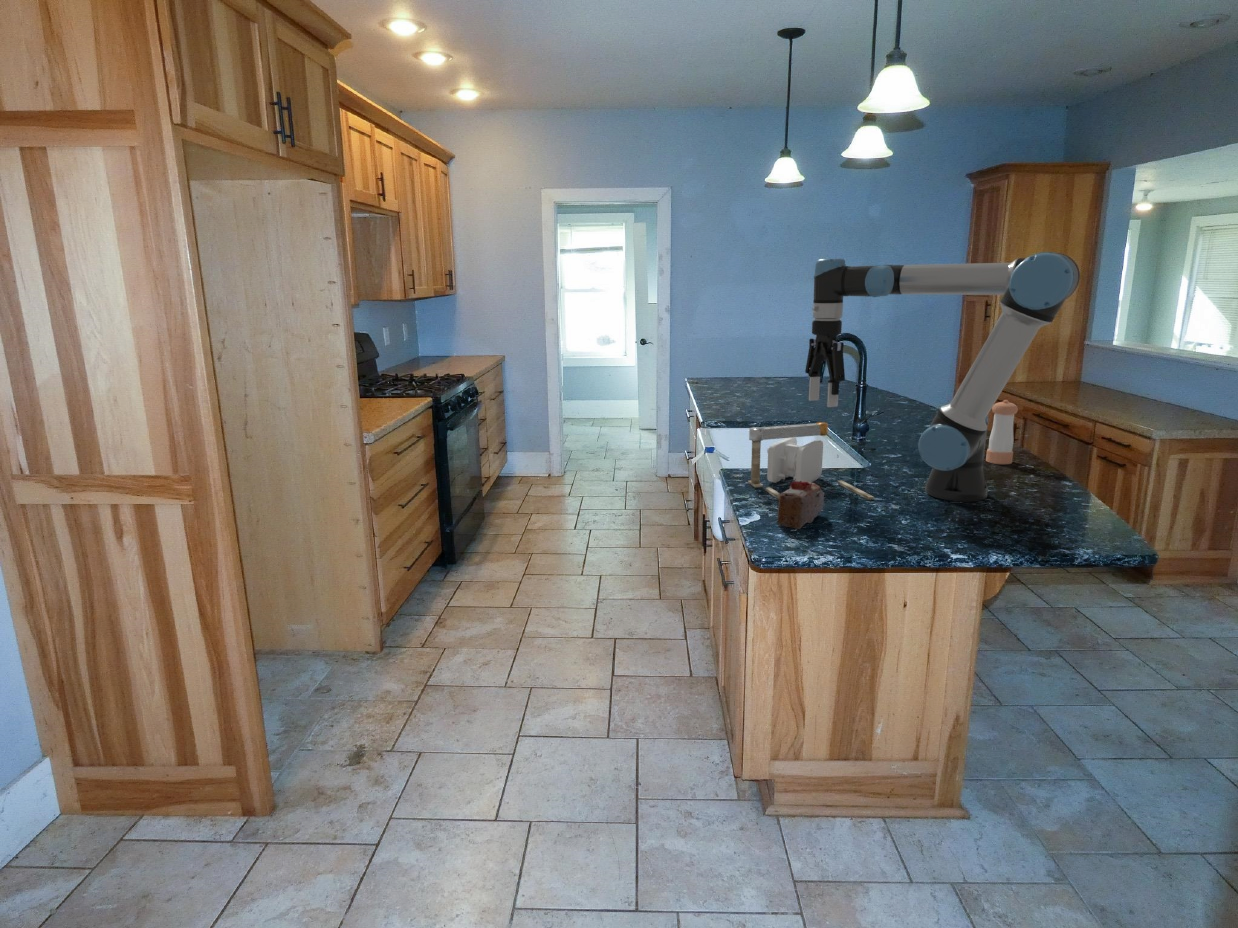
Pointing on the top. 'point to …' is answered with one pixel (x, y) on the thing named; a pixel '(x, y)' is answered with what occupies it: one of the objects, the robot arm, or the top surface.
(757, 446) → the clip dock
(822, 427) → the gold knob lever
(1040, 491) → the top surface
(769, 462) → the cable organizer
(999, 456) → the pepper shaker
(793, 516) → the food item
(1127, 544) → the top surface
